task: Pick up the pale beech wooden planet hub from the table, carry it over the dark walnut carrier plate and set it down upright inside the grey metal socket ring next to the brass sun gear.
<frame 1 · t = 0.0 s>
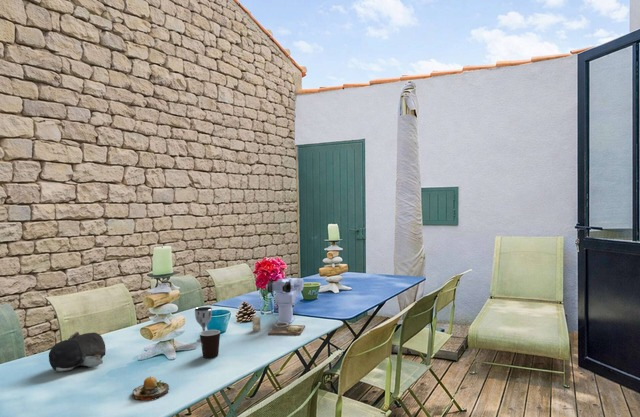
hand: (275, 288, 221), 22 cm above the table, fingers open, 7 cm apart
wine glass: (204, 340, 210), on the table
planet hub: (256, 330, 224), on the table
burger: (150, 394, 151), on the table
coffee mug: (211, 355, 189), on the table
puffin: (79, 366, 179), on the table
carrier plate: (287, 330, 222), on the table
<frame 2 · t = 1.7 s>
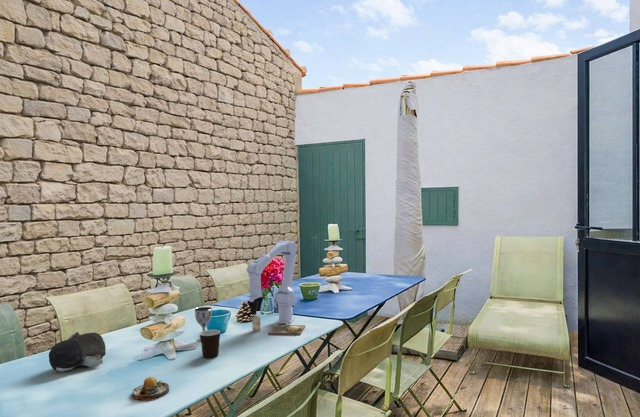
hand: (256, 312, 224), 9 cm above the table, fingers open, 7 cm apart
nothing on the table moved.
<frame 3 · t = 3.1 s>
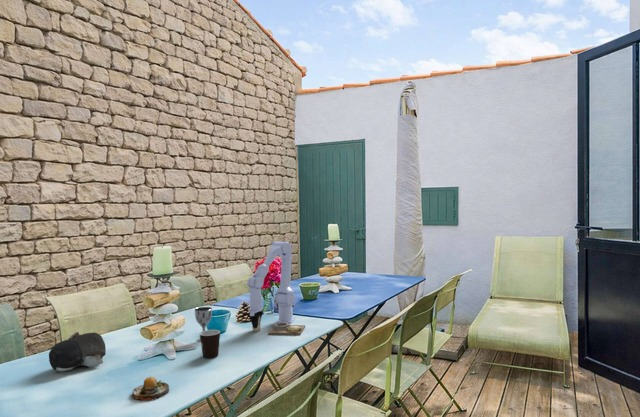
hand: (256, 326, 224), 2 cm above the table, fingers closed on planet hub, 4 cm apart
planet hub: (256, 330, 224), on the table, touching gripper
everything else where it was.
when the fingers open (4 cm above the table, at t = 6.8 s): planet hub stays where it is, resting on carrier plate.
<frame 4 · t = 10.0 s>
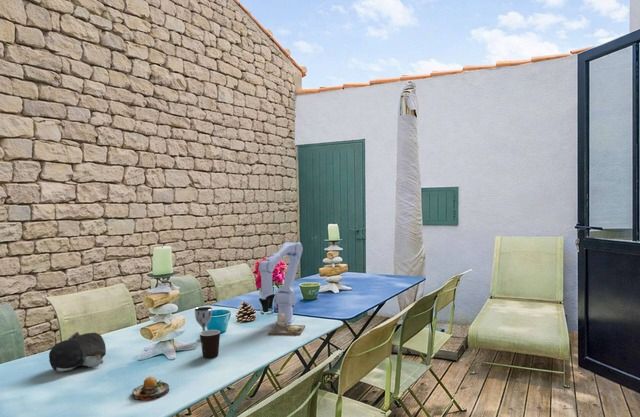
hand: (267, 310, 227), 9 cm above the table, fingers open, 7 cm apart
planet hub: (281, 328, 223), point 1 cm above the table, touching carrier plate
everything else where it was.
at the end: planet hub 0.1 cm from the target spot on the carrier plate, point 1.0 cm above the carrier plate's base; planet hub tilted 1°; the gripper is holding nothing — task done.
